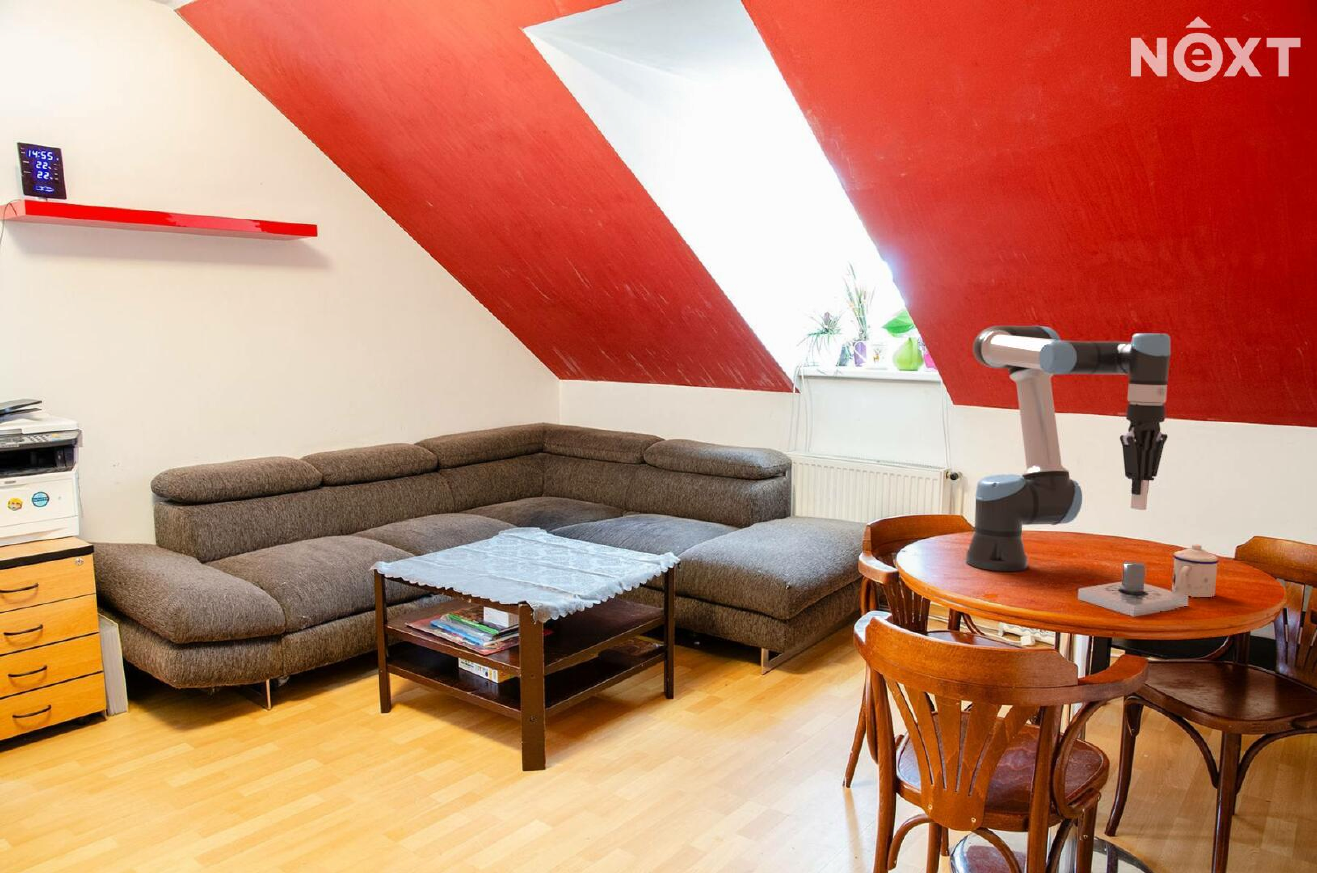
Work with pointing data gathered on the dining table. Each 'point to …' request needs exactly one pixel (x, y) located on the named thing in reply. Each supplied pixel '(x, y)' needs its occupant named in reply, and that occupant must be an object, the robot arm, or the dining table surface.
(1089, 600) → the tile
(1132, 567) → the grey upright prism
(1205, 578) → the teacup with lid
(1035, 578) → the dining table surface
